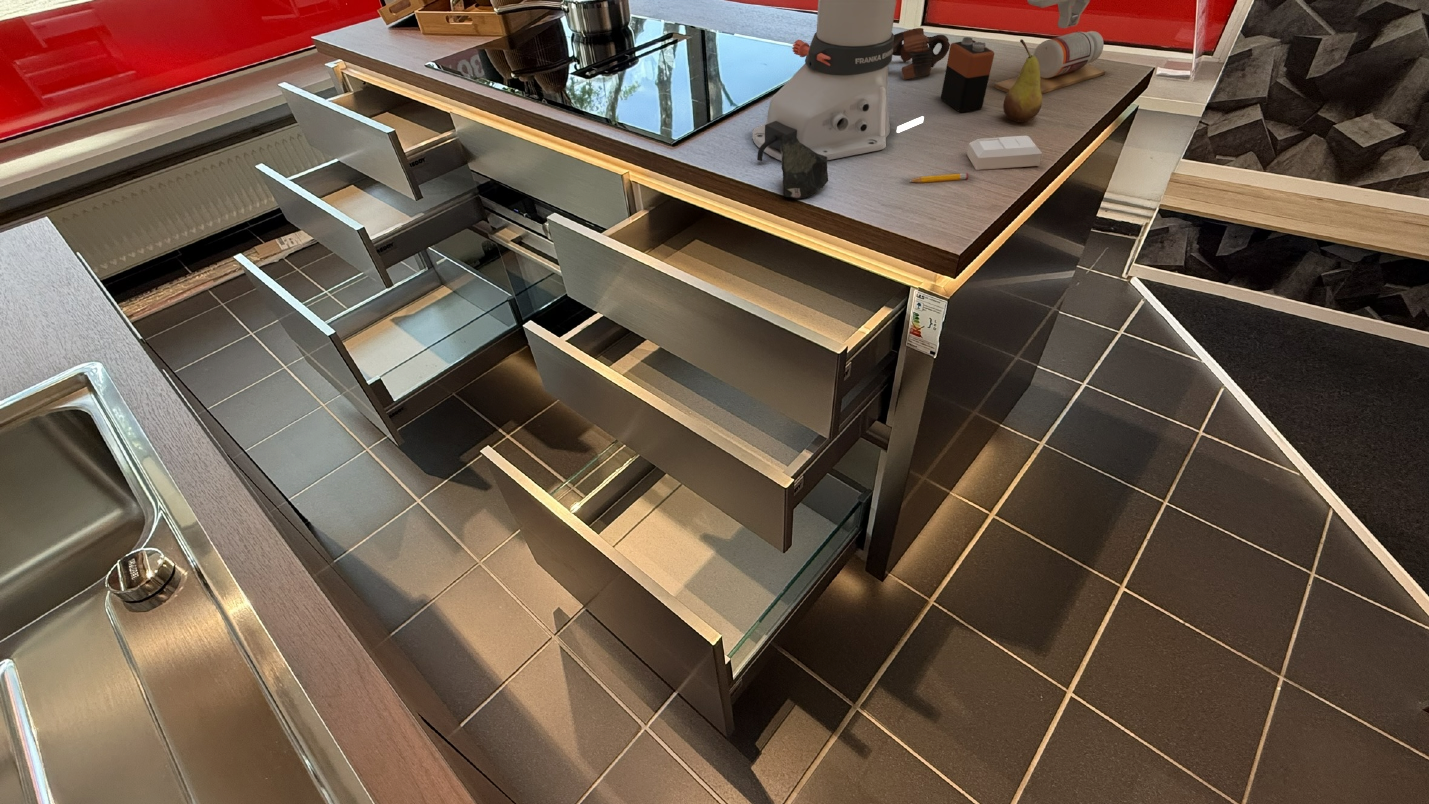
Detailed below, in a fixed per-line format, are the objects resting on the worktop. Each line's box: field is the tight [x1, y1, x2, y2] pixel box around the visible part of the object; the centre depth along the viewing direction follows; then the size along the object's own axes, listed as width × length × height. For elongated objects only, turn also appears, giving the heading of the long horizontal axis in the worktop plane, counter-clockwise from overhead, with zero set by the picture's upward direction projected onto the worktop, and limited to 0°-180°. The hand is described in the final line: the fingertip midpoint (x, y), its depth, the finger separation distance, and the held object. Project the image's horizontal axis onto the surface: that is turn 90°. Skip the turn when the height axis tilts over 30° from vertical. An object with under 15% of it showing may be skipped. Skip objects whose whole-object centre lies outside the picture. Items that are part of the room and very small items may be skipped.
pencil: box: [908, 172, 970, 184], centre depth 97 cm, size 1×9×1 cm
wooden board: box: [993, 64, 1107, 95], centre depth 122 cm, size 20×7×1 cm, turn 119°
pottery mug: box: [892, 27, 951, 81], centre depth 127 cm, size 12×10×8 cm
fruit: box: [1003, 38, 1043, 123], centre depth 106 cm, size 6×6×12 cm
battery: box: [940, 36, 995, 113], centre depth 113 cm, size 4×7×10 cm, turn 16°
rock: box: [781, 135, 829, 200], centre depth 97 cm, size 9×7×5 cm
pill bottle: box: [1033, 30, 1105, 78], centre depth 121 cm, size 6×6×11 cm
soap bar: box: [966, 134, 1043, 171], centre depth 100 cm, size 5×9×3 cm, turn 90°
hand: (1067, 26), depth 116 cm, fingers closed
